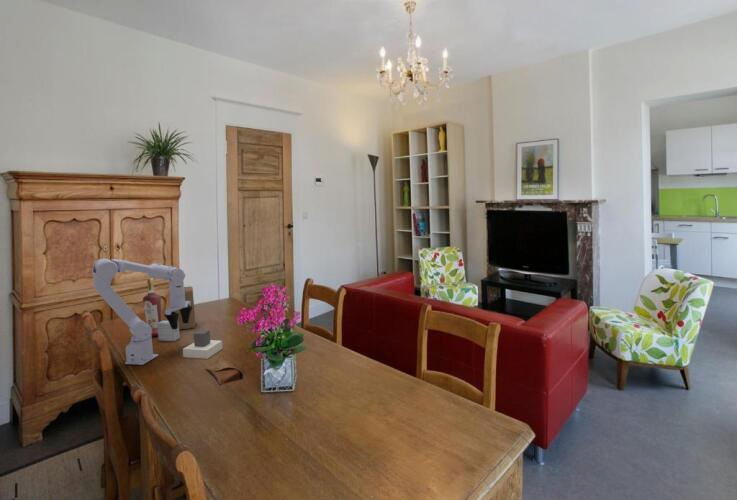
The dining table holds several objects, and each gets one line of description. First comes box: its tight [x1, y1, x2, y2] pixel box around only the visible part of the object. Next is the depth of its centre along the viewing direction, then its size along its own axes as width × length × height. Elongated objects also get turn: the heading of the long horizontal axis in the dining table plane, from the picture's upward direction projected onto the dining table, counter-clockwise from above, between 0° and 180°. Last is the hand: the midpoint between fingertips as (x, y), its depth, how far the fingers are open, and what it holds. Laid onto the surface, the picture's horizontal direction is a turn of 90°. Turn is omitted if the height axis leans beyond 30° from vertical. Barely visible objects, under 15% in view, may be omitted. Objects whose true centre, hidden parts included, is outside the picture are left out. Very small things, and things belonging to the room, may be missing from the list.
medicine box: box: [157, 320, 181, 342], centre depth 180 cm, size 8×4×9 cm, turn 84°
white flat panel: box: [182, 339, 223, 360], centre depth 164 cm, size 11×11×4 cm
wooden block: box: [175, 286, 196, 331], centre depth 198 cm, size 10×10×20 cm
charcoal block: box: [193, 329, 211, 347], centre depth 164 cm, size 4×4×6 cm
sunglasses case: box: [204, 355, 244, 386], centre depth 145 cm, size 18×7×7 cm, turn 41°
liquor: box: [142, 277, 162, 338], centre depth 186 cm, size 7×7×28 cm
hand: (180, 326), depth 168 cm, fingers open, 7 cm apart
